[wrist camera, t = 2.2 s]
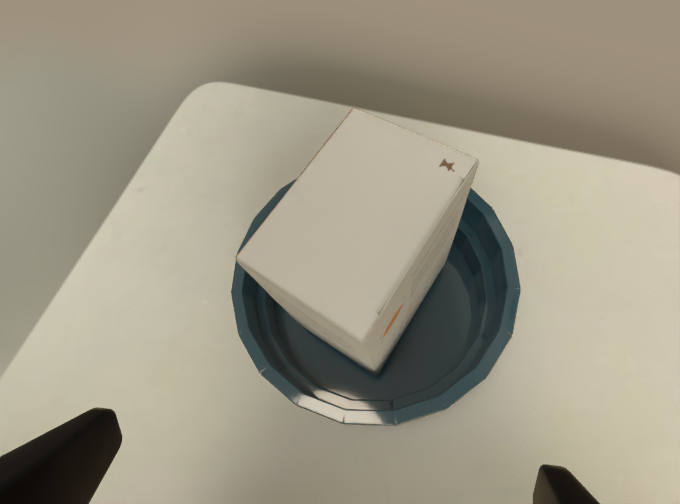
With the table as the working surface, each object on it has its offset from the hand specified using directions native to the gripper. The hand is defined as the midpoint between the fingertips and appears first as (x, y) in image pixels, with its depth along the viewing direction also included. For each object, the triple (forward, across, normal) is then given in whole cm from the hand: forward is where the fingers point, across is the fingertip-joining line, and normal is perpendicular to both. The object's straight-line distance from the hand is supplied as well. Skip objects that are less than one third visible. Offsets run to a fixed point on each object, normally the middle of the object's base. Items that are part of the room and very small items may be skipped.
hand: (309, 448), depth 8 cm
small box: (+15, 0, +4) cm, 16 cm away
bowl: (+15, 0, +4) cm, 16 cm away
